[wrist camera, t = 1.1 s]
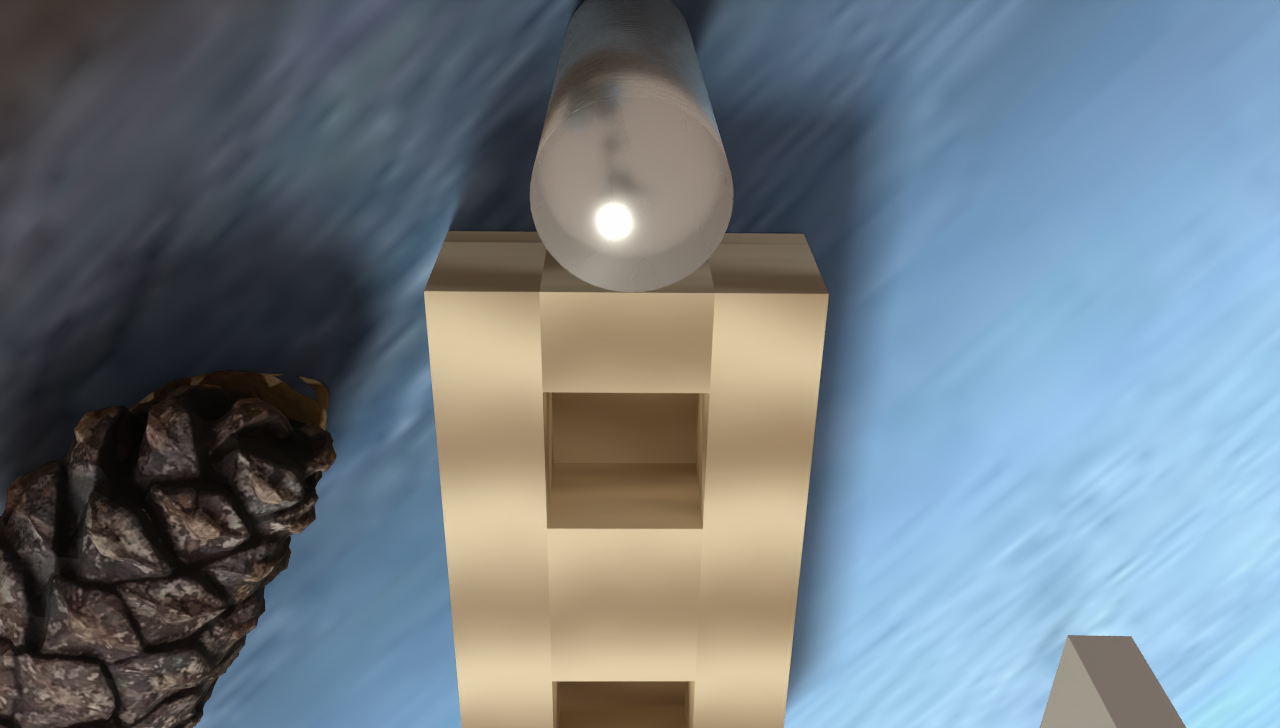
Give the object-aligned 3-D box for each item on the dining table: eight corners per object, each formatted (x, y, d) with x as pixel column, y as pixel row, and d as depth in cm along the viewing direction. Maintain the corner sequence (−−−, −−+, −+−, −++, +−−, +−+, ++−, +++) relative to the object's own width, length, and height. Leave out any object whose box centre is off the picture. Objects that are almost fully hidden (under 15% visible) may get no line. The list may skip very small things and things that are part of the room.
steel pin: (562, -18, 33) (526, 96, 20) (694, -16, 33) (738, 98, 20) (564, 113, 34) (533, 291, 22) (689, 115, 34) (728, 292, 22)
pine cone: (394, 393, 39) (328, 568, 30) (196, 696, 46) (94, 912, 37) (119, 245, 36) (-42, 389, 27) (-49, 591, 43) (-222, 797, 34)
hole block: (448, 231, 36) (423, 291, 32) (803, 234, 36) (828, 294, 32) (485, 745, 47) (471, 842, 43) (757, 744, 48) (771, 841, 43)
